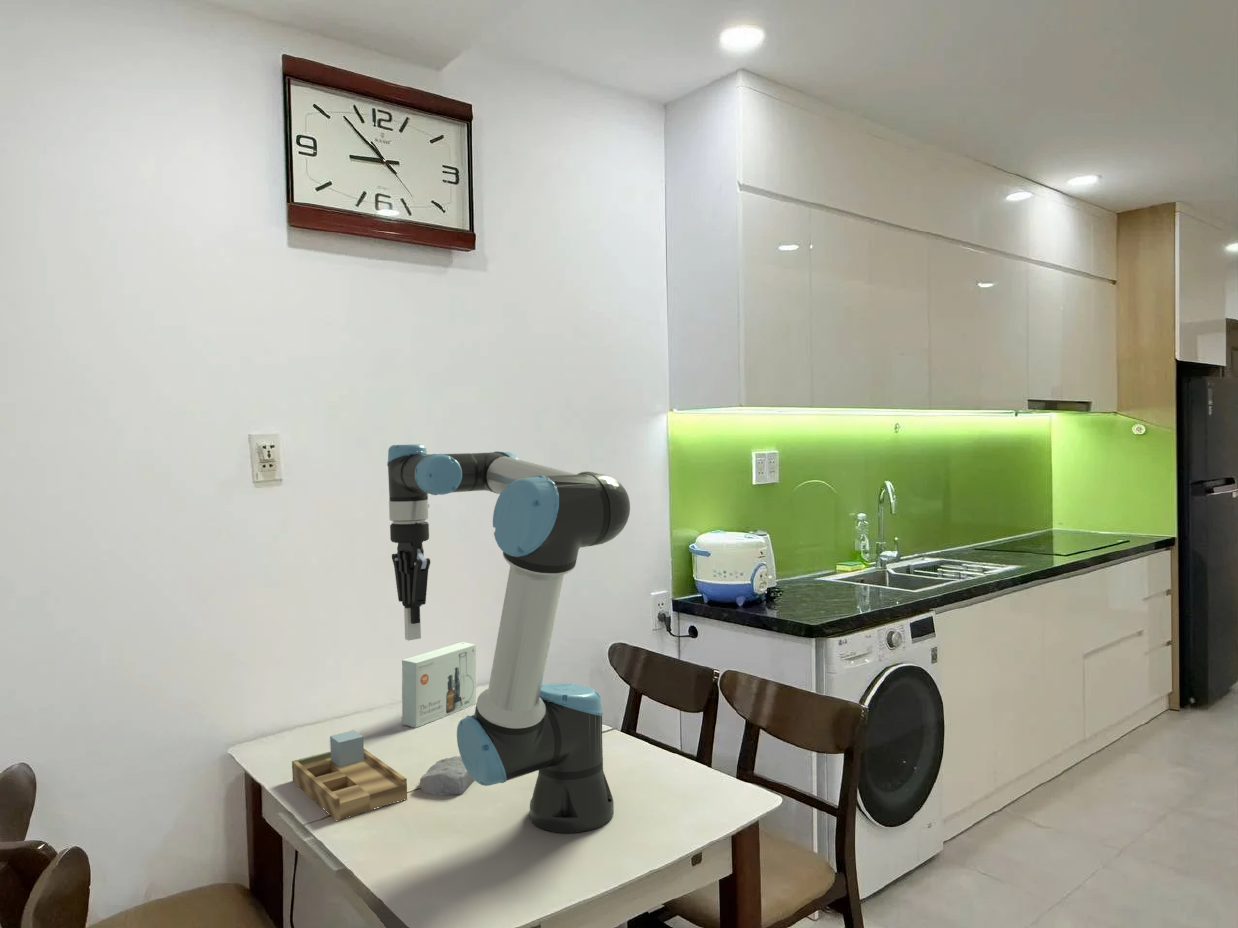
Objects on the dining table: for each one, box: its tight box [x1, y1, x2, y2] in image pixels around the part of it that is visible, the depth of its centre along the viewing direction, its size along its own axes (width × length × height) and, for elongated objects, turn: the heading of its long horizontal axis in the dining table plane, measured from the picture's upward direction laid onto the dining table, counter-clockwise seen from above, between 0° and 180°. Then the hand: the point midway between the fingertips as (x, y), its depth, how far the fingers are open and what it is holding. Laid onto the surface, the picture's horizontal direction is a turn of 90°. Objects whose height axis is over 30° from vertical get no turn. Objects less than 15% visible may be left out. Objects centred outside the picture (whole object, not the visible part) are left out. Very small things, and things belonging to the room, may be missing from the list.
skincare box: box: [401, 641, 477, 729], centre depth 209 cm, size 21×6×16 cm, turn 147°
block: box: [329, 729, 365, 767], centre depth 172 cm, size 5×5×5 cm
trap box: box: [291, 748, 408, 821], centre depth 165 cm, size 24×14×4 cm, turn 39°
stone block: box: [419, 755, 475, 796], centre depth 168 cm, size 12×5×10 cm
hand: (413, 638), depth 169 cm, fingers closed
